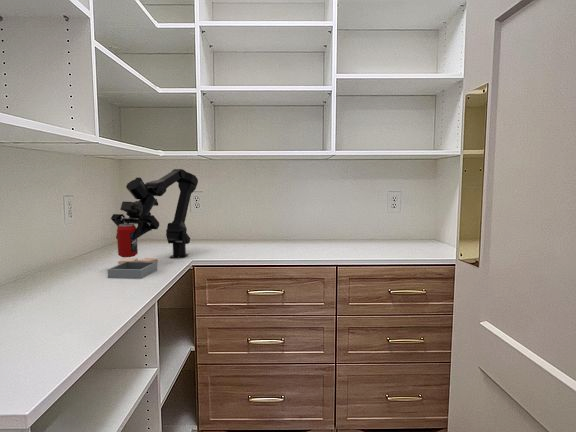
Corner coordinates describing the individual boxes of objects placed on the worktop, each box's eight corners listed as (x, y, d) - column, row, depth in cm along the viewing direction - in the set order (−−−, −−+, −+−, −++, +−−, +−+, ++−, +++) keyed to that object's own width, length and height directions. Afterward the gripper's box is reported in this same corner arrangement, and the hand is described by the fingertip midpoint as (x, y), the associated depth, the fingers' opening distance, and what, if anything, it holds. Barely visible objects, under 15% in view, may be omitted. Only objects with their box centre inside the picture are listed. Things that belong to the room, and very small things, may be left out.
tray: (126, 269, 146) (126, 261, 145) (157, 270, 144) (156, 262, 144) (107, 277, 133) (107, 269, 133) (141, 278, 132) (140, 270, 132)
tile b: (146, 260, 162) (146, 257, 162) (157, 261, 160) (157, 258, 160) (136, 263, 156) (136, 260, 156) (148, 264, 154) (147, 261, 154)
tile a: (123, 260, 161) (123, 258, 160) (137, 260, 161) (137, 258, 161) (118, 264, 155) (118, 261, 154) (133, 263, 155) (133, 261, 155)
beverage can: (139, 256, 138) (137, 224, 136) (119, 258, 134) (117, 226, 133) (136, 253, 143) (134, 222, 142) (117, 255, 140) (115, 224, 139)
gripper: (112, 193, 143) (91, 225, 134) (153, 193, 137) (133, 227, 128) (128, 211, 151) (109, 242, 142) (167, 212, 145) (149, 245, 136)
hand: (124, 239), depth 137 cm, fingers closed on beverage can, 7 cm apart
